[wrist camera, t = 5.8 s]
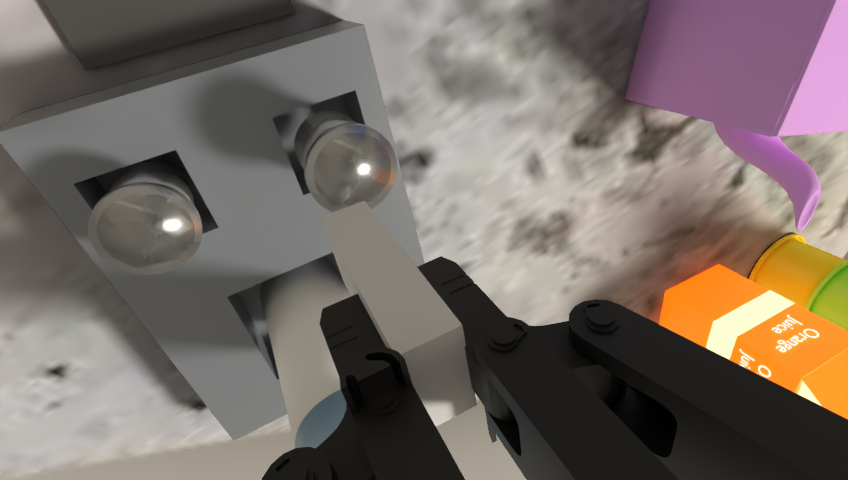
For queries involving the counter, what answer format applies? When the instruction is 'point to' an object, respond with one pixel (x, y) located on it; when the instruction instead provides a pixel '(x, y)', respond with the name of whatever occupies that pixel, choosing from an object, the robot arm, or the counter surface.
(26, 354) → the counter surface
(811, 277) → the stacking cups
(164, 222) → the chrome dome knob
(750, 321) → the orange juice
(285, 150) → the housing
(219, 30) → the mat
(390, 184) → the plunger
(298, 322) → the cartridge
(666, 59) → the teapot
